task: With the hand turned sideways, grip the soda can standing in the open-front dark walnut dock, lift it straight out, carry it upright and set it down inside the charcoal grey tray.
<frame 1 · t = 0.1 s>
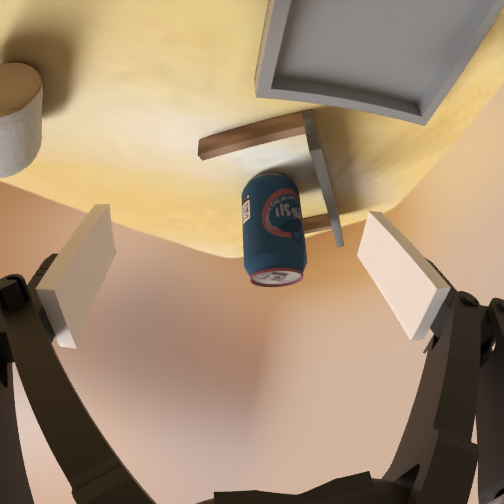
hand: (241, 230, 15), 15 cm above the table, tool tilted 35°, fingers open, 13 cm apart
soda can: (269, 184, 39), on the table
grey tray: (374, 19, 17), on the table
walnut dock: (269, 186, 38), on the table
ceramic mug: (10, 89, 19), on the table
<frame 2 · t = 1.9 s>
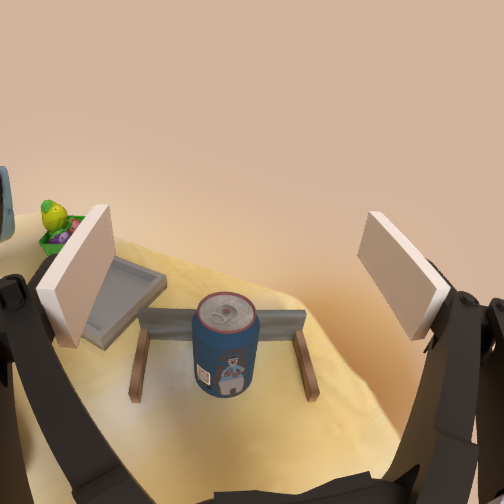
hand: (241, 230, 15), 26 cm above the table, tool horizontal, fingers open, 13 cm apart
fruit basket: (68, 251, 57), on the table
soda can: (223, 380, 37), on the table
grey tray: (100, 298, 46), on the table
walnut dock: (223, 379, 37), on the table
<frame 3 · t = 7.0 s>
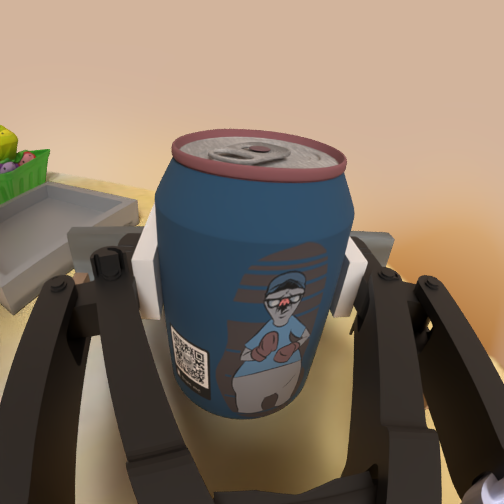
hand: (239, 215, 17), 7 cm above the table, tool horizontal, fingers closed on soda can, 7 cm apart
fruit basket: (16, 195, 36), on the table
soda can: (239, 377, 16), on the table, touching gripper
grey tray: (35, 240, 26), on the table
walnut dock: (239, 375, 16), on the table
when the fingers open (9 cm above the table, at t = 12.3 s): soda can drops 1 cm, resting on grey tray.
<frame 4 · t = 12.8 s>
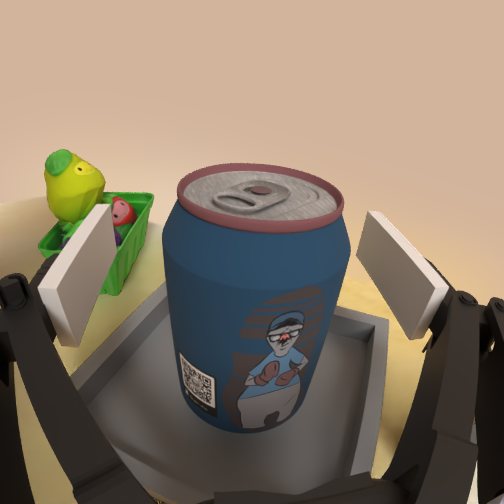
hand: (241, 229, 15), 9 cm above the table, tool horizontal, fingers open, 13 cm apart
fruit basket: (103, 266, 28), on the table
soda can: (242, 392, 17), point 1 cm above the table, touching grey tray
grey tray: (237, 396, 17), on the table
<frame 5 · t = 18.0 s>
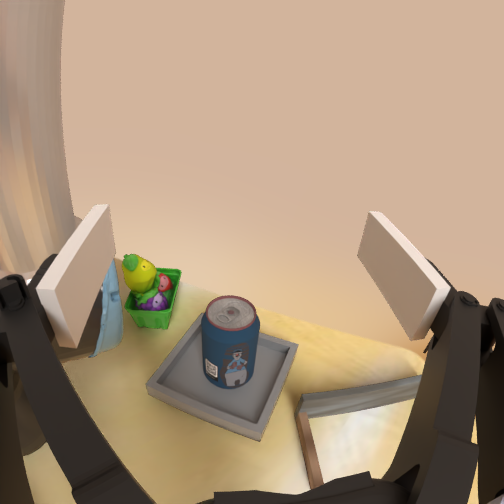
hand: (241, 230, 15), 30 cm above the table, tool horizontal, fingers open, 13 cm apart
fruit basket: (154, 311, 53), on the table
soda can: (228, 374, 42), point 1 cm above the table, touching grey tray
grey tray: (226, 376, 42), on the table
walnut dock: (384, 446, 32), on the table
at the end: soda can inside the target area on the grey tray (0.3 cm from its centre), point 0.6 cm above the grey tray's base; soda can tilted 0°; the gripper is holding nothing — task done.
